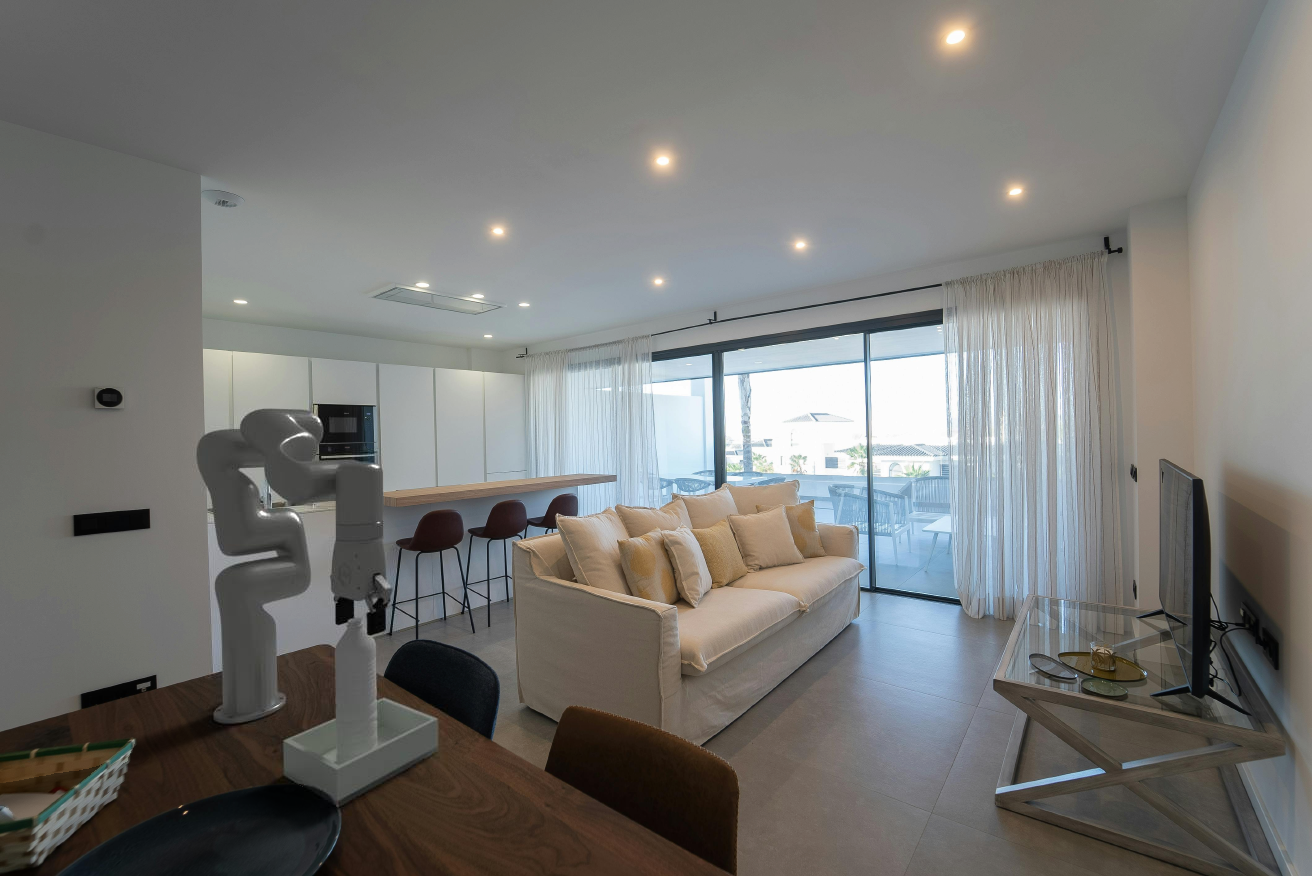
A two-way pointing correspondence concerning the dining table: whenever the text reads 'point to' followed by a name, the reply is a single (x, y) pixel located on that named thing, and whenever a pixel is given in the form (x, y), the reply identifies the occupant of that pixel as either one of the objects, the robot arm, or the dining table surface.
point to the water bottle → (355, 692)
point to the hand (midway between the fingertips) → (360, 627)
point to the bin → (399, 748)
